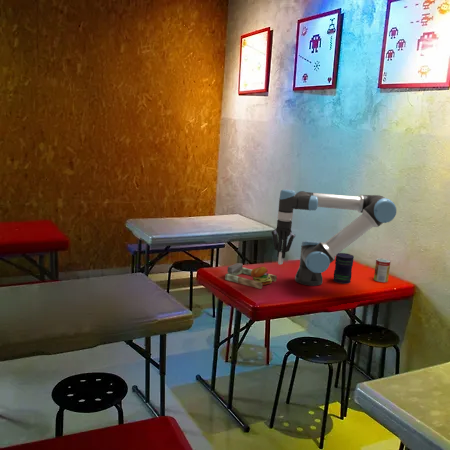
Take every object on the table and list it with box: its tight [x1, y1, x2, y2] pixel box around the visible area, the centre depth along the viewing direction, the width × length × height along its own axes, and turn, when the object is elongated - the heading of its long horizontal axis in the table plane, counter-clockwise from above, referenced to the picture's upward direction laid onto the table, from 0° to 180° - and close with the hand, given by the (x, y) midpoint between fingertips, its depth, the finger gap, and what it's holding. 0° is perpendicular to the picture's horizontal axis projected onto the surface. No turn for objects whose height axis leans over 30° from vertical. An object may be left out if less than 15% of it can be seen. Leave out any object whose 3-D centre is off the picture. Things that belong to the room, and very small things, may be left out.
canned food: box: [373, 257, 391, 283], centre depth 286 cm, size 8×8×12 cm
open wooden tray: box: [224, 262, 277, 290], centre depth 271 cm, size 23×18×6 cm
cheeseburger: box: [250, 266, 273, 286], centre depth 267 cm, size 10×11×10 cm
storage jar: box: [332, 252, 355, 285], centre depth 279 cm, size 10×10×15 cm
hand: (280, 263), depth 260 cm, fingers closed
